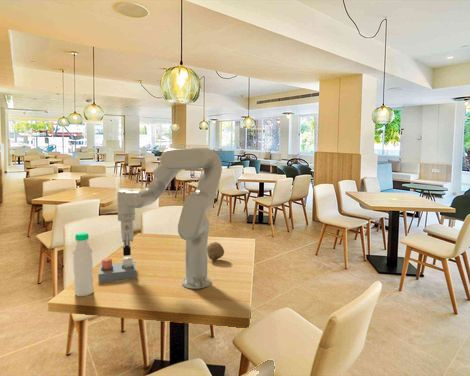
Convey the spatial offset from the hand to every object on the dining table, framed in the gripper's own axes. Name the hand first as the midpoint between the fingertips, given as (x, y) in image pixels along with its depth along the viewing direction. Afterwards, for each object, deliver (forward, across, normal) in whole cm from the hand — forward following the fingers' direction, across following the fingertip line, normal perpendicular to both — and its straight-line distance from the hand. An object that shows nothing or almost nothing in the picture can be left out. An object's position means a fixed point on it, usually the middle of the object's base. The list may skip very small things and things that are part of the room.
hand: (126, 255), depth 155 cm
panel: (+10, 0, +4) cm, 10 cm away
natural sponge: (+9, +7, -45) cm, 46 cm away
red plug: (+6, 0, +9) cm, 11 cm away
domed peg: (+6, 0, 0) cm, 6 cm away
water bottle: (+10, -15, +17) cm, 25 cm away
